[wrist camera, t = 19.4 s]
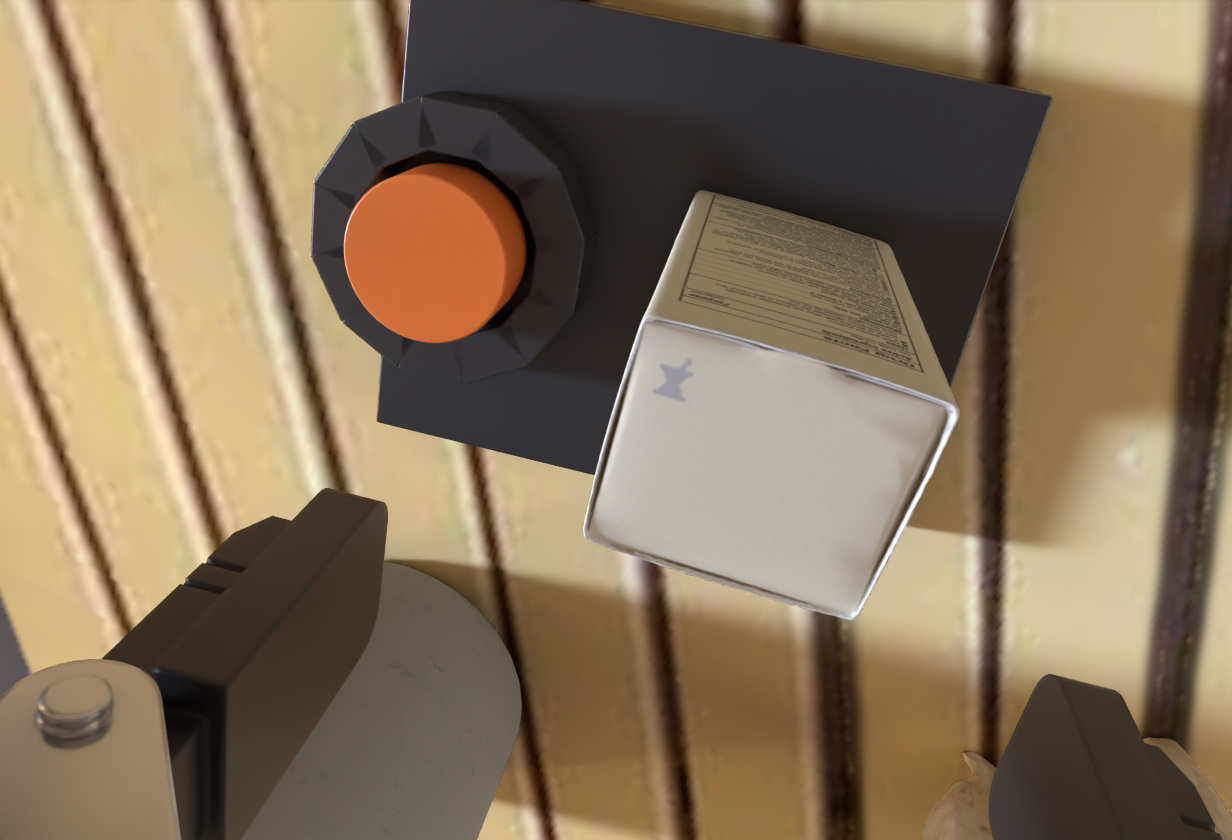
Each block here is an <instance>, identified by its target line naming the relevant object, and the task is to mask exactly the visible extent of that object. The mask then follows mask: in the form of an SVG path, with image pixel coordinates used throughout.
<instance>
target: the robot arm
mask: <svg viewBox="0 0 1232 840" xmlns="http://www.w3.org/2000/svg"><path fill="white" fill-rule="evenodd" d="M387 523H388V510H387V506H386V504H385V503H384V502H381V501H377V500H373V499H369V498H365V497H361V496H357V495H353V494H350V493H346V492H342V491H338V490H334V489H330V488H325V489H323V490H321V491H320V492H319V493H318V494H317V495H316V496H315V497H314V498H313V499H312V500H311V501H310V502H309V503H308V504H307V505H306V506H305V508H304V509H303V510H302V511H301V512H300V513H299V514H298V515H297V516H296V517H295V518H294V519H293V520H292V521H290V520H286V519H283V518H279V517H275V516H271V517H269V518H266V519H264V520H262V521H260V522H257V523H255V524H253V525H251V526H249V527H246V528H244V529H242V530H240V531H237V532H235V533H233V534H232V535H231V536H230V537H229V538H228V539H227V540H226V541H225V542H224V543H223V544H222V545H221V546H220V547H219V548H218V549H217V550H215V551H214V552H213V553H212V554H211V555H210V556H209V557H208V559H207V562H206V564H204V563H202V564H201V565H200V566H199V567H198V568H197V569H196V570H194V571H193V572H192V573H191V574H190V575H189V576H188V577H187V578H186V581H185V583H184V585H182V584H180V585H179V586H178V587H177V588H176V589H175V590H173V591H172V592H171V593H170V594H169V595H168V596H167V597H166V598H165V599H164V600H163V601H162V602H161V603H160V604H159V605H158V606H157V607H156V608H155V609H154V610H152V611H151V612H150V613H149V614H148V615H147V616H146V617H145V618H144V619H143V620H142V621H141V622H140V623H139V624H138V625H137V626H136V627H135V628H134V629H133V630H131V631H130V632H129V633H128V634H127V635H126V636H125V637H124V638H123V639H122V640H121V641H120V642H119V643H118V644H117V645H116V646H115V647H114V648H113V649H112V650H110V651H109V652H108V653H107V654H106V655H105V656H104V657H103V658H102V659H88V660H78V661H72V662H67V663H62V664H58V665H54V666H51V667H48V668H45V669H43V670H40V671H38V672H35V673H33V674H31V675H29V676H27V677H25V678H24V679H22V680H20V681H18V682H17V683H16V684H14V685H13V686H11V687H10V688H9V689H8V690H6V691H5V692H4V693H3V694H2V695H1V696H0V840H241V839H242V838H243V836H244V835H245V833H246V831H247V830H248V828H249V827H250V825H251V824H252V822H253V821H254V819H255V818H256V816H257V815H258V813H259V812H260V810H261V809H262V807H263V806H264V804H265V803H266V801H267V800H268V798H269V796H270V795H271V793H272V792H273V790H274V789H275V787H276V786H277V784H278V783H279V781H280V780H281V778H282V777H283V775H284V774H285V772H286V771H287V769H288V768H289V766H290V764H291V763H292V761H293V760H294V758H295V757H296V755H297V754H298V752H299V751H300V749H301V748H302V746H303V745H304V743H305V742H306V740H307V739H308V737H309V736H310V734H311V732H312V731H313V729H314V728H315V726H316V725H317V723H318V722H319V720H320V719H321V717H322V716H323V714H324V713H325V711H326V710H327V708H328V707H329V705H330V704H331V702H332V700H333V699H334V697H335V696H336V694H337V693H338V691H339V690H340V688H341V687H342V685H343V684H344V682H345V681H346V679H347V678H348V676H349V675H350V673H351V672H352V670H353V668H354V667H355V665H356V664H357V662H358V661H359V659H360V658H361V656H362V655H363V653H364V651H365V649H366V647H367V645H368V643H369V640H370V638H371V635H372V632H373V629H374V626H375V623H376V619H377V615H378V609H379V603H380V593H381V583H382V573H383V563H384V553H385V543H386V533H387ZM989 823H990V828H991V833H992V837H993V840H1223V839H1222V837H1221V835H1220V833H1216V832H1215V826H1216V825H1215V823H1214V821H1213V820H1212V818H1211V816H1210V814H1209V812H1208V810H1207V808H1206V806H1205V804H1204V802H1203V800H1202V798H1201V796H1200V794H1199V792H1198V790H1197V789H1196V787H1195V785H1194V784H1193V783H1192V782H1191V781H1190V780H1189V779H1188V778H1187V777H1186V775H1185V774H1184V773H1183V772H1182V771H1181V770H1180V769H1179V768H1178V767H1177V766H1176V765H1175V764H1174V763H1173V762H1172V760H1171V759H1170V758H1169V757H1168V756H1167V755H1166V754H1165V753H1164V752H1163V751H1162V750H1161V749H1160V748H1159V747H1158V746H1154V745H1150V744H1146V743H1144V741H1143V738H1142V736H1141V734H1140V732H1139V730H1138V728H1137V726H1136V724H1135V722H1134V720H1133V718H1132V715H1131V713H1130V711H1129V709H1128V707H1127V705H1126V703H1125V701H1124V699H1123V697H1122V696H1121V695H1120V694H1119V693H1118V692H1117V691H1115V690H1112V689H1108V688H1104V687H1100V686H1096V685H1092V684H1088V683H1084V682H1080V681H1076V680H1072V679H1068V678H1065V677H1061V676H1057V675H1053V674H1048V675H1045V676H1044V677H1043V678H1042V679H1041V680H1040V681H1039V682H1038V683H1037V685H1036V687H1035V689H1034V690H1033V693H1032V695H1031V697H1030V699H1029V701H1028V703H1027V705H1026V707H1025V709H1024V711H1023V713H1022V716H1021V718H1020V720H1019V722H1018V724H1017V726H1016V728H1015V730H1014V732H1013V734H1012V737H1011V739H1010V741H1009V743H1008V745H1007V747H1006V749H1005V751H1004V753H1003V755H1002V758H1001V760H1000V762H999V764H998V766H997V768H996V771H995V773H994V776H993V780H992V784H991V788H990V795H989Z"/></svg>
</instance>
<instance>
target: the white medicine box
mask: <svg viewBox="0 0 1232 840" xmlns="http://www.w3.org/2000/svg"><path fill="white" fill-rule="evenodd" d="M959 412H960V411H959V408H958V406H957V404H956V401H955V399H954V396H953V394H952V391H951V389H950V387H949V384H948V382H947V379H946V377H945V374H944V372H943V370H942V368H941V366H940V363H939V361H938V358H937V356H936V353H935V351H934V349H933V347H932V344H931V342H930V339H929V336H928V334H927V332H926V330H925V328H924V324H923V322H922V320H921V318H920V316H919V313H918V311H917V309H916V306H915V304H914V302H913V299H912V297H911V295H910V292H909V290H908V287H907V285H906V283H905V280H904V277H903V275H902V273H901V271H900V268H899V266H898V264H897V261H896V259H895V256H894V253H893V251H892V249H891V248H890V246H889V245H888V244H887V243H885V242H882V241H880V240H876V239H873V238H870V237H867V236H864V235H860V234H857V233H854V232H851V231H848V230H845V229H842V228H838V227H835V226H832V225H829V224H825V223H822V222H819V221H815V220H812V219H809V218H805V217H802V216H798V215H795V214H791V213H788V212H784V211H781V210H777V209H774V208H770V207H766V206H763V205H759V204H755V203H751V202H747V201H744V200H740V199H737V198H733V197H728V196H725V195H721V194H717V193H713V192H709V191H704V190H701V191H698V192H697V193H696V194H695V197H694V199H693V201H692V203H691V205H690V208H689V210H688V212H687V215H686V217H685V219H684V222H683V224H682V227H681V229H680V232H679V234H678V236H677V238H676V241H675V243H674V246H673V248H672V251H671V253H670V256H669V258H668V261H667V263H666V266H665V268H664V270H663V273H662V275H661V277H660V280H659V282H658V285H657V287H656V290H655V292H654V294H653V297H652V299H651V301H650V304H649V306H648V308H647V310H646V313H645V315H644V317H643V319H642V321H641V324H640V326H639V329H638V332H637V335H636V338H635V341H634V344H633V347H632V350H631V353H630V357H629V360H628V363H627V366H626V369H625V372H624V375H623V379H622V382H621V385H620V388H619V392H618V395H617V398H616V401H615V405H614V408H613V411H612V414H611V418H610V421H609V425H608V428H607V432H606V435H605V439H604V443H603V446H602V450H601V453H600V457H599V461H598V465H597V469H596V473H595V477H594V481H593V486H592V490H591V495H590V499H589V504H588V508H587V512H586V517H585V521H584V528H583V533H584V536H585V538H586V539H587V540H589V541H591V542H593V543H595V544H598V545H601V546H604V547H607V548H610V549H612V550H615V551H618V552H622V553H625V554H629V555H631V556H634V557H637V558H639V559H642V560H646V561H649V562H652V563H655V564H658V565H660V566H663V567H666V568H669V569H673V570H676V571H680V572H683V573H685V574H688V575H691V576H695V577H698V578H701V579H704V580H707V581H711V582H715V583H717V584H720V585H724V586H728V587H731V588H735V589H738V590H741V591H745V592H748V593H751V594H754V595H757V596H760V597H764V598H769V599H772V600H775V601H779V602H782V603H786V604H788V605H792V606H797V607H800V608H804V609H809V610H813V611H817V612H821V613H824V614H828V615H833V616H836V617H839V618H843V619H847V620H854V619H856V618H857V617H858V616H859V614H860V612H861V611H862V609H863V607H864V605H865V603H866V601H867V599H868V597H869V595H870V593H871V591H872V589H873V587H874V585H875V584H876V582H877V580H878V578H879V576H880V574H881V573H882V571H883V569H884V567H885V566H886V564H887V562H888V560H889V558H890V556H891V554H892V552H893V550H894V548H895V546H896V544H897V543H898V541H899V539H900V537H901V535H902V533H903V531H904V529H905V527H906V526H907V524H908V522H909V520H910V518H911V516H912V513H913V511H914V509H915V507H916V506H917V504H918V502H919V500H920V498H921V496H922V494H923V493H924V490H925V488H926V485H927V483H928V481H929V479H930V477H931V476H932V474H933V472H934V470H935V468H936V465H937V463H938V461H939V459H940V457H941V455H942V452H943V450H944V448H945V446H946V444H947V442H948V439H949V437H950V435H951V433H952V431H953V429H954V427H955V425H956V423H957V421H958V419H959Z"/></svg>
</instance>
